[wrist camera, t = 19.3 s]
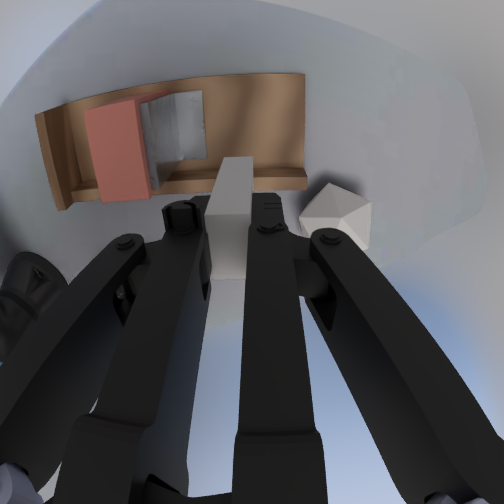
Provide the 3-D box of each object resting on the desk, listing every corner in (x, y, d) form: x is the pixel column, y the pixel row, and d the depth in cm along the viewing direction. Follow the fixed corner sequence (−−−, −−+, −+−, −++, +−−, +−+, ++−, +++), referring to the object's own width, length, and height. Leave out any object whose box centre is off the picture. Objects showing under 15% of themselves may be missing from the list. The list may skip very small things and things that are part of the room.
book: (137, 167, 34) (102, 202, 26) (127, 96, 29) (83, 110, 20) (176, 163, 34) (149, 199, 25) (168, 89, 29) (134, 99, 20)
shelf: (79, 190, 36) (57, 210, 31) (62, 105, 29) (34, 115, 24) (302, 177, 35) (309, 197, 30) (303, 74, 28) (313, 75, 23)
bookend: (175, 160, 33) (151, 190, 26) (168, 93, 29) (138, 104, 21) (207, 157, 33) (191, 187, 26) (202, 90, 29) (182, 97, 21)
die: (299, 240, 41) (351, 286, 35) (270, 212, 34) (333, 266, 28) (338, 195, 40) (394, 235, 35) (318, 158, 33) (387, 201, 27)
